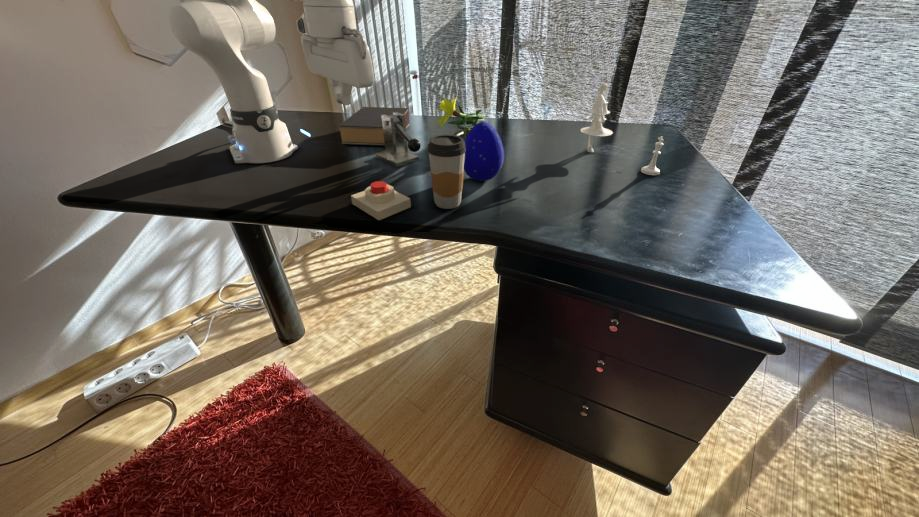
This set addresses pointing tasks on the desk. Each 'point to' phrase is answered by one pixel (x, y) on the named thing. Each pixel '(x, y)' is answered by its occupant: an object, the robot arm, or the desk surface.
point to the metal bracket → (395, 143)
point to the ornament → (483, 152)
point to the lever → (406, 135)
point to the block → (381, 202)
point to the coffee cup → (447, 169)
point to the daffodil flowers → (466, 118)
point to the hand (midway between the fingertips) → (344, 103)
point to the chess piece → (653, 160)
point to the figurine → (597, 118)
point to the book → (368, 125)
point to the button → (378, 187)
